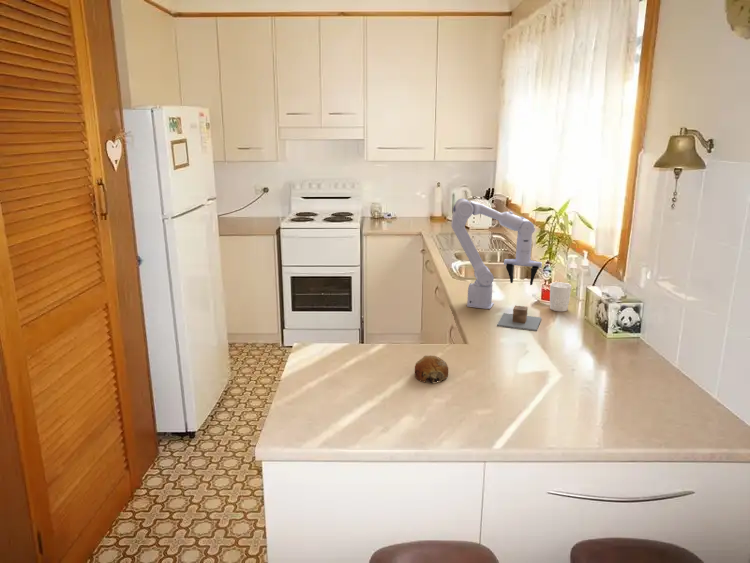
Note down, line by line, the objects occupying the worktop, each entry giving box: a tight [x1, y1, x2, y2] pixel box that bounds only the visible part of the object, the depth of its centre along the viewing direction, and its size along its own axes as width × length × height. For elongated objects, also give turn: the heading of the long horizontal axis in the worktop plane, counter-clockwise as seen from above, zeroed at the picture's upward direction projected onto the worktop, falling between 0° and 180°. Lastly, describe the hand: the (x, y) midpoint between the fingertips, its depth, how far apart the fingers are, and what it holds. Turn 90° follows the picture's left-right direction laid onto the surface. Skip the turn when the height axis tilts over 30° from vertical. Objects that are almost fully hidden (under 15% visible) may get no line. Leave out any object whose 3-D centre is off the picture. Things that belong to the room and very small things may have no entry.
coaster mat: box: [496, 312, 542, 332], centre depth 209 cm, size 14×14×1 cm
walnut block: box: [512, 305, 528, 323], centre depth 208 cm, size 4×4×5 cm
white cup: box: [549, 281, 572, 312], centre depth 223 cm, size 8×8×10 cm
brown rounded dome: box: [414, 355, 449, 383], centre depth 164 cm, size 10×10×8 cm
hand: (521, 283), depth 226 cm, fingers open, 7 cm apart
